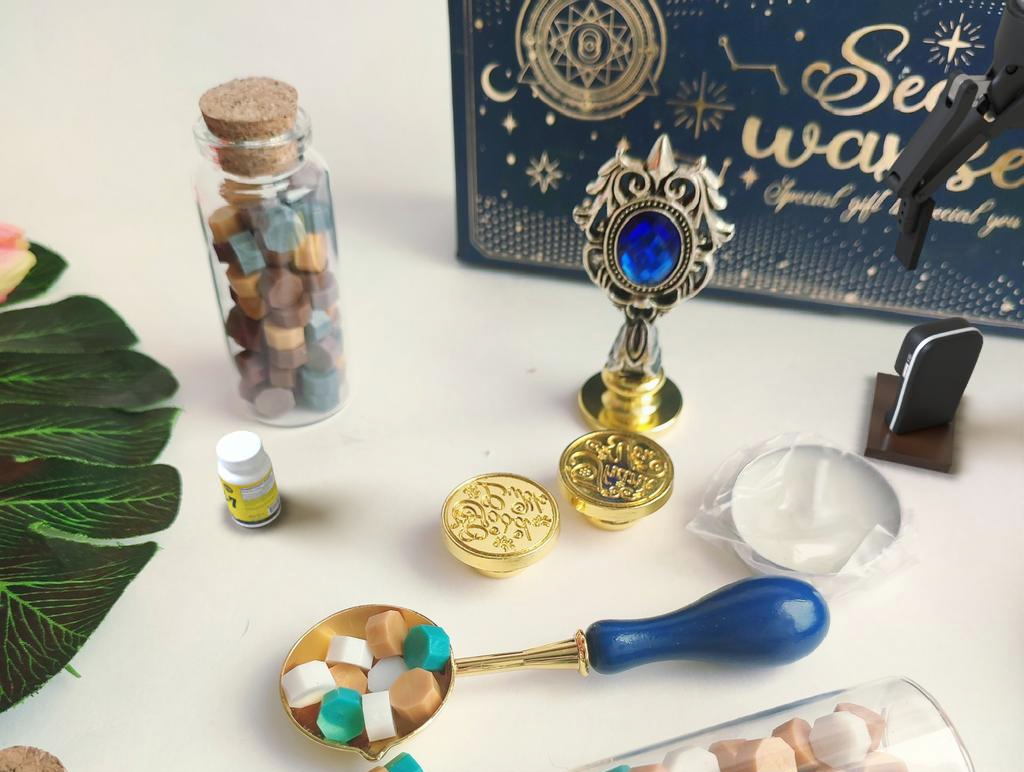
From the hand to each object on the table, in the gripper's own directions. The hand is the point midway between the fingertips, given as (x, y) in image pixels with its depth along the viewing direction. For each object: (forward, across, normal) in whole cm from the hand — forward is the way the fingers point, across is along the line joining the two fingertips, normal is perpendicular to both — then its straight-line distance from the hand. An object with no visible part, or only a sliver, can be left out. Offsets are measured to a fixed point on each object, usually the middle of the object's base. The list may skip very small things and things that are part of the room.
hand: (976, 251), depth 94 cm
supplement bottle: (+19, +66, -2) cm, 69 cm away
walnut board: (+20, +1, +1) cm, 20 cm away
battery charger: (+19, +1, +1) cm, 19 cm away
